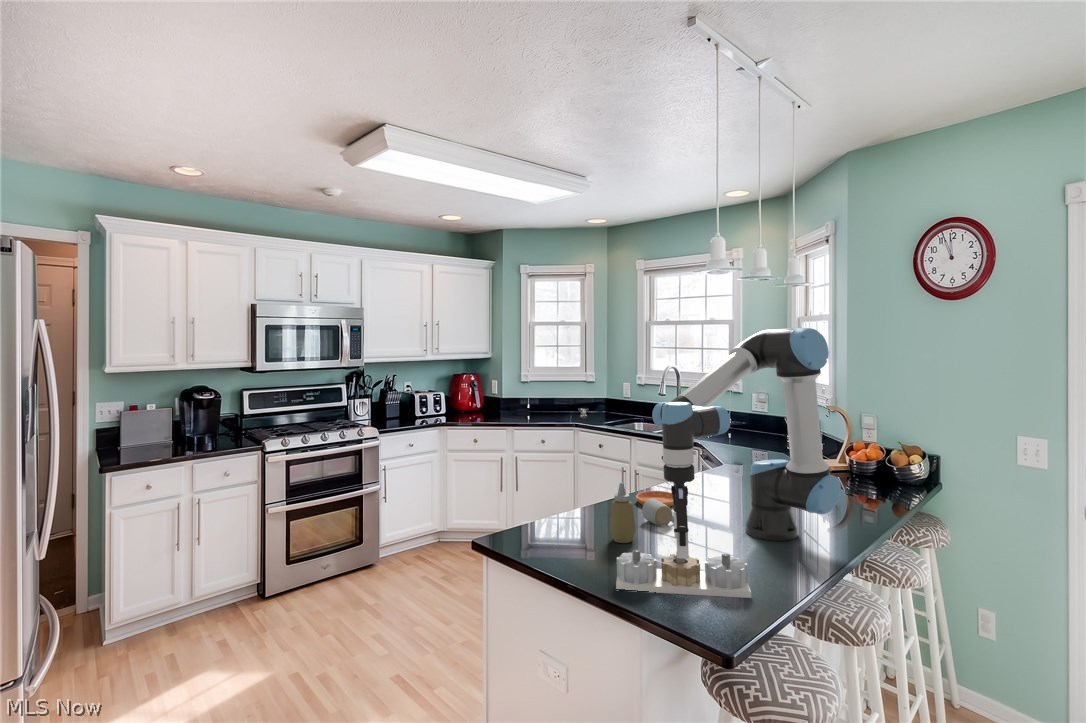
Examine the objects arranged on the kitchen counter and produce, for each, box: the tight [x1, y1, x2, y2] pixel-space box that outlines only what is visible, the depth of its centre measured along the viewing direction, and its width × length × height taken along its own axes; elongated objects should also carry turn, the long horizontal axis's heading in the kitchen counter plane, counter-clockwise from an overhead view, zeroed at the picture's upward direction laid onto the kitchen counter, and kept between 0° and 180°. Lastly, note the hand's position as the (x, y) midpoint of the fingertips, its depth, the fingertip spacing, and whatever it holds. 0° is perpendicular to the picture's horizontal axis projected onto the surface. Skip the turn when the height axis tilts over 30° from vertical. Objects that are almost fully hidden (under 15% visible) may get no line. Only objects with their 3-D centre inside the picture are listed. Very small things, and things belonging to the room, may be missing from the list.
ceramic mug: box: [641, 499, 674, 527], centre depth 189 cm, size 11×8×8 cm
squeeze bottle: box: [609, 482, 637, 544], centre depth 173 cm, size 8×8×18 cm
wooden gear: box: [660, 553, 701, 587], centre depth 141 cm, size 9×9×4 cm
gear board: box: [615, 549, 752, 599], centre depth 141 cm, size 32×11×9 cm, turn 79°
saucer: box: [635, 490, 674, 508], centre depth 213 cm, size 16×16×3 cm
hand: (681, 547), depth 141 cm, fingers open, 13 cm apart
